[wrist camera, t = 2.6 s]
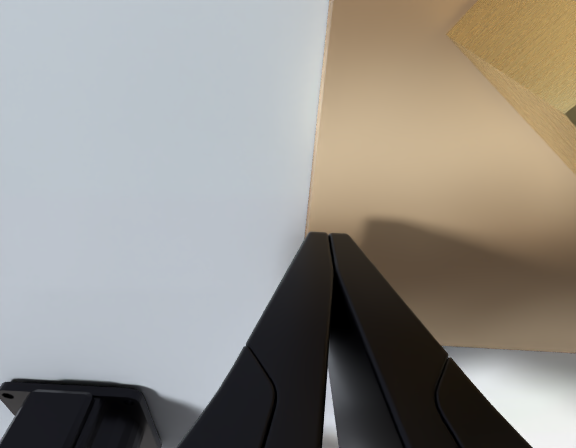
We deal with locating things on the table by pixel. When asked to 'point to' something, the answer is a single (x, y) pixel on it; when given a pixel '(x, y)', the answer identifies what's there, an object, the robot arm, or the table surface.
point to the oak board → (442, 180)
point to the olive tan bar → (528, 62)
